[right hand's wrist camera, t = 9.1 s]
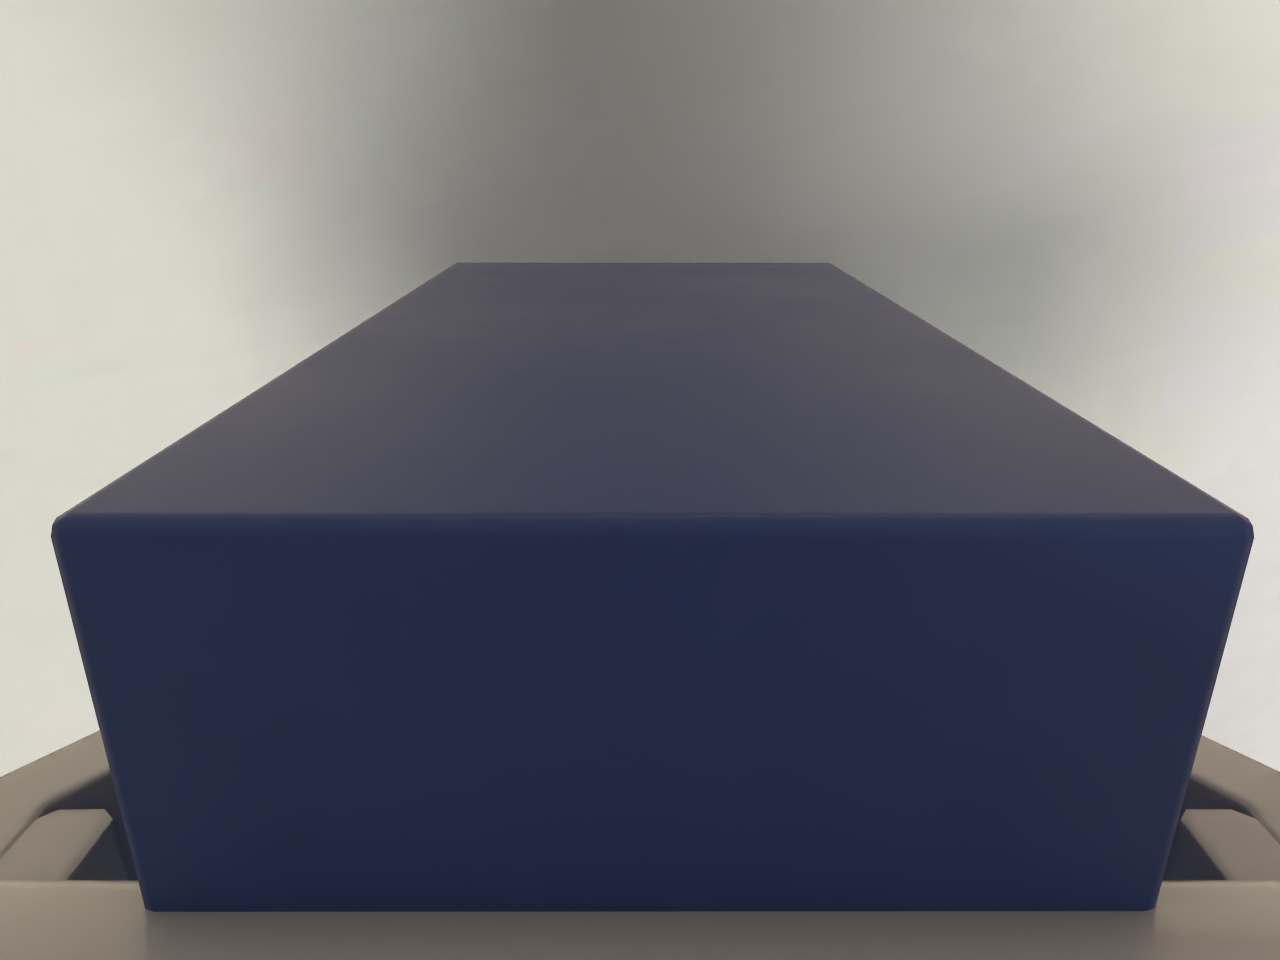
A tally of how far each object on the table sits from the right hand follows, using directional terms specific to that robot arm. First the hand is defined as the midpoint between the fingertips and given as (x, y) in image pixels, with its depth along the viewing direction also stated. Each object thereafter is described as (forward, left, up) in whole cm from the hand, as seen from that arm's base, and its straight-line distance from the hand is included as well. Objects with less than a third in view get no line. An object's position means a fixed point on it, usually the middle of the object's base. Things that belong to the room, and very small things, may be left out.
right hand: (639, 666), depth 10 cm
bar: (+7, 0, -4) cm, 9 cm away
